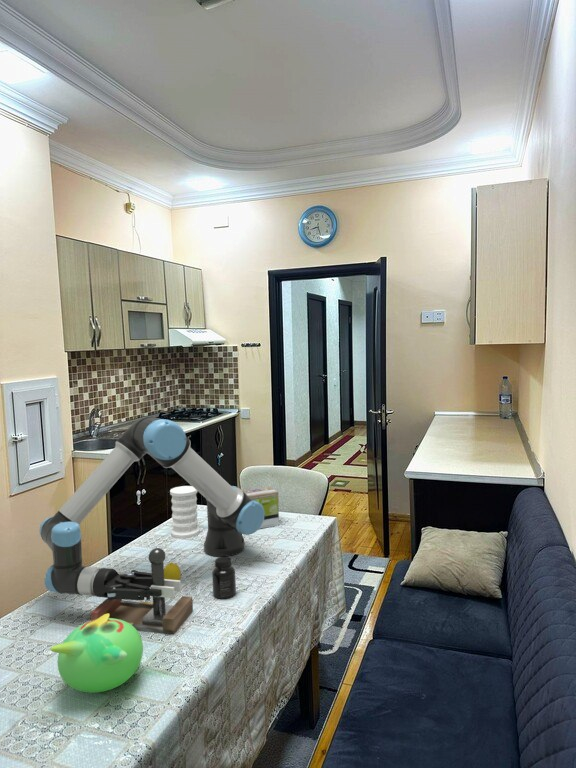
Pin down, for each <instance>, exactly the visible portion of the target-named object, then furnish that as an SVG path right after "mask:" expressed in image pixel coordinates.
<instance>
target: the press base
mask: <svg viewBox="0 0 576 768" xmlns="http://www.w3.org/2000/svg"><path fill="white" fill-rule="evenodd" d="M193 603H194V601H193V597H192V596H185V595H184V596H183V595H182V596H181V597H180V598H179V600H178V601H177V602H175V604H173V605H172V604H171V605H172V606H173V607H172V608H171V609H170V611H169V612H168V613H167V614H166V615H165V616H164V617H163V618H162V620H163V627H156V626H147V625H142V618H143V617H144V616H145V615H146V614H147V613H148V612H149V611H150V610H151V609H152V608H153V601H152V602H151V601H144V600H140V601H134V600H124V599H113V600H108V598H105V599H104V600H103V601H102V602H101V603H100V604H99V605H98V606H96V608H94V609H93V610H92V611H90V621H92V620H96V619H98V618H100V617H101V616H103V615H104V614H107V613H109V614H110V616H109V618H114V619H119V620H123V621H125V622H127V623H129V624H131V625H132V626H133V627H134V628H135V629H136V630H137V631H138V632H146V633H154V634H155V633H157V634H164V635H172V636H174V635H175V634H176V633H177V632H178V630H179V629H180V628H181V626H182V625H183V624H184V623H185V622H186V620H187V619H188V618H189V617H190V615H191V614H192V613H193V611H194V608H193V607H194V606H193V605H194V604H193Z"/></svg>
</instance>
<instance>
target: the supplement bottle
mask: <svg viewBox="0 0 576 768" xmlns="http://www.w3.org/2000/svg"><path fill="white" fill-rule="evenodd" d="M214 566H215V568H213V570H212V572H211V573H212V574H211V575H212V576H211V577H212V596H213V597H214V599H216V600H220V601H222V600H230V599H232V598H234V597H235V596H237V583H236V570H235V567H234V566H233V565H232V558H231V557H230V556H221V557H220V556H219V557H217V558H216V559H215V560H214Z"/></svg>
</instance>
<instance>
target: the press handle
mask: <svg viewBox="0 0 576 768" xmlns="http://www.w3.org/2000/svg"><path fill="white" fill-rule="evenodd" d="M165 560H166V552H165V550H163V549H162V548H160V547H156V548H152V549H151V550H150V551H149V554H148V561H149V563H150V568H151V571H150V572H151V573H152V585H157V586H164V568H165V566H164V561H165ZM152 602H153V608H152V609H151V610H150V611H149V612H148V613H147V614H146V615H145V616H144V617H143V618H142V625H147V626H156V627H163V620H162V618H163V617H164V616H165V615H166V614H167V613H168V612H169V611H170V609H171V608H172V607H173V606H174V605H173V606H172V604H166V598H165V597H155V596H152Z"/></svg>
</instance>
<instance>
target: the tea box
mask: <svg viewBox="0 0 576 768" xmlns="http://www.w3.org/2000/svg"><path fill="white" fill-rule="evenodd" d="M241 490H242V489H241ZM242 491H243V492H244V493H246V494H247V495H248V496H249V497H250V498H251V499H252V500H254V501H257V502H259V503H260V504H261V505H262V506H263V508H264V512H265V514H264V521H263V523H262V525H261V527H260V528H259V529H258V530H260V529H265V528H272V527H278V526H279V521H280V520H279V519H280V518H279V515H280V512H279V491H277V490H275V489H273V488H272V487H270V486H264V487H263V486H262V487H257V488H250V489H245V490H242ZM277 525H278V526H277Z"/></svg>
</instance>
